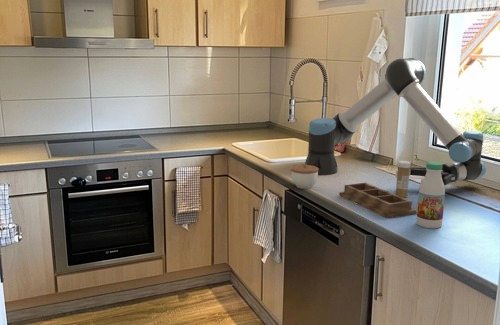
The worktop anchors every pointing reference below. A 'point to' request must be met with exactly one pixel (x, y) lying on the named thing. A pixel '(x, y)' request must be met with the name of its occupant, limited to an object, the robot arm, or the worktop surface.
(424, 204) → the milk bottle
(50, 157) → the worktop surface
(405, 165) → the spice bottle
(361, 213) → the worktop surface
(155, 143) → the worktop surface
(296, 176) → the lidded jar
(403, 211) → the wooden compartment tray
